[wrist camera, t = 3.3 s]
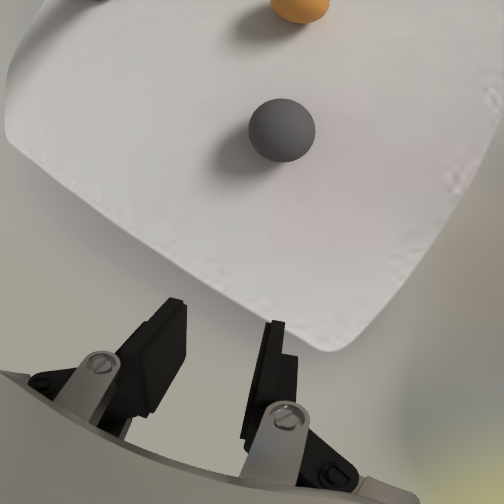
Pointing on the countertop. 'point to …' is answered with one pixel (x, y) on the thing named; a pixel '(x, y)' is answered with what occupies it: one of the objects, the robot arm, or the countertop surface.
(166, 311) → the robot arm
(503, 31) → the countertop surface
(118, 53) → the countertop surface
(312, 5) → the object ball
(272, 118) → the dark gray ball
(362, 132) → the countertop surface
